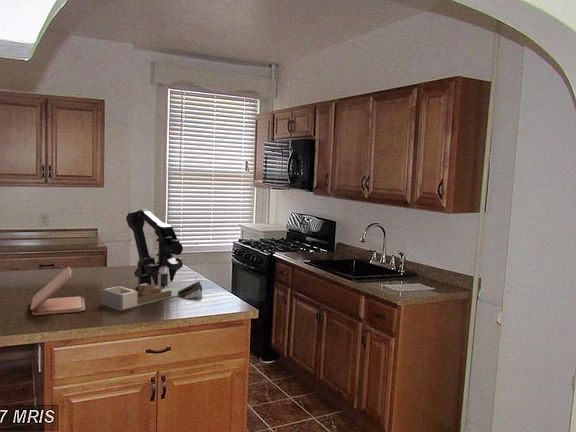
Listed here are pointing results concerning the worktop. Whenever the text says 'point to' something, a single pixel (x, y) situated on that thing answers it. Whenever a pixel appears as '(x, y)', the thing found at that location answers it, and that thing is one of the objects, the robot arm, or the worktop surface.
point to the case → (56, 305)
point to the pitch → (155, 296)
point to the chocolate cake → (191, 291)
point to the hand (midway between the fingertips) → (163, 283)
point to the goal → (119, 298)
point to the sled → (147, 288)
